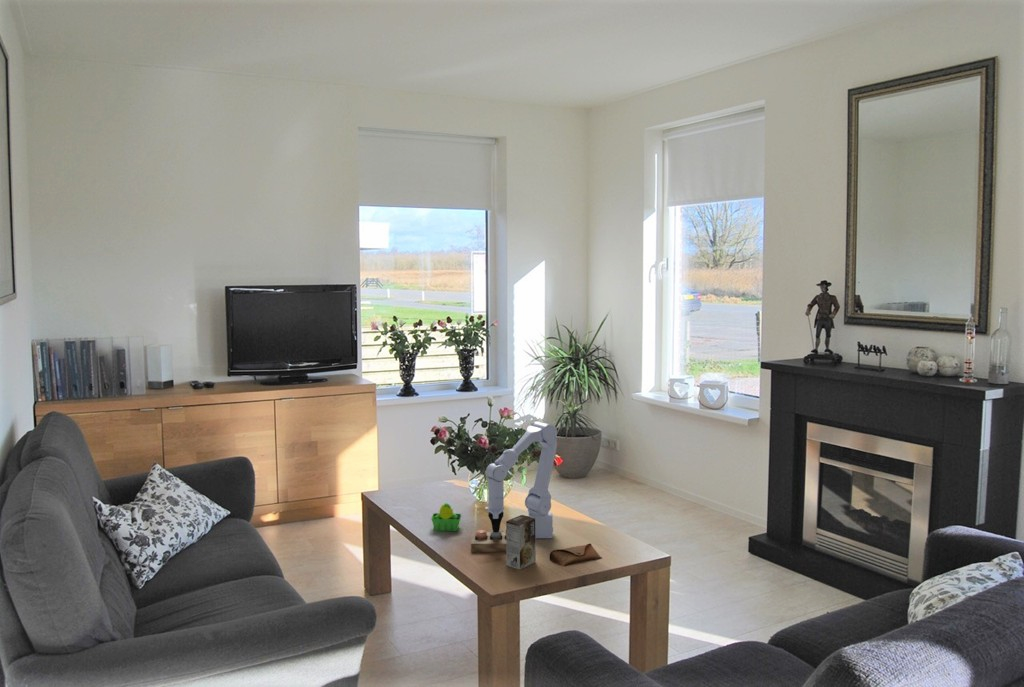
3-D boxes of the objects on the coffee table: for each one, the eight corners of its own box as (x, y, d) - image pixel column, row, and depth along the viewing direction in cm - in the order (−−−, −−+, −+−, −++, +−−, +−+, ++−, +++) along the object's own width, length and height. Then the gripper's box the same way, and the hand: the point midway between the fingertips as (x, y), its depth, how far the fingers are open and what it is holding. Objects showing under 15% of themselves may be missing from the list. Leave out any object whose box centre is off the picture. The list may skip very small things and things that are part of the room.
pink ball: (486, 539, 304) (486, 529, 303) (486, 543, 300) (486, 533, 299) (476, 539, 304) (476, 529, 303) (475, 543, 300) (475, 533, 299)
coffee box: (521, 558, 289) (521, 514, 287) (536, 562, 285) (536, 517, 283) (505, 565, 282) (505, 520, 280) (520, 570, 278) (519, 524, 276)
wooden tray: (519, 539, 308) (519, 531, 308) (520, 551, 295) (520, 543, 295) (472, 539, 308) (472, 531, 308) (471, 551, 295) (471, 543, 295)
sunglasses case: (562, 567, 280) (556, 547, 282) (552, 571, 285) (547, 552, 288) (604, 557, 289) (598, 539, 291) (594, 562, 294) (589, 544, 297)
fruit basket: (461, 525, 325) (461, 498, 324) (459, 533, 316) (459, 504, 315) (433, 525, 325) (433, 498, 324) (430, 532, 317) (430, 504, 315)
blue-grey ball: (501, 539, 304) (501, 529, 303) (501, 543, 300) (501, 533, 299) (490, 539, 304) (490, 529, 303) (490, 543, 300) (490, 533, 299)
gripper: (485, 490, 307) (485, 525, 309) (484, 501, 293) (484, 538, 294) (504, 490, 307) (504, 525, 309) (504, 501, 293) (504, 538, 294)
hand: (496, 531), depth 301 cm, fingers closed, pressing on blue-grey ball
